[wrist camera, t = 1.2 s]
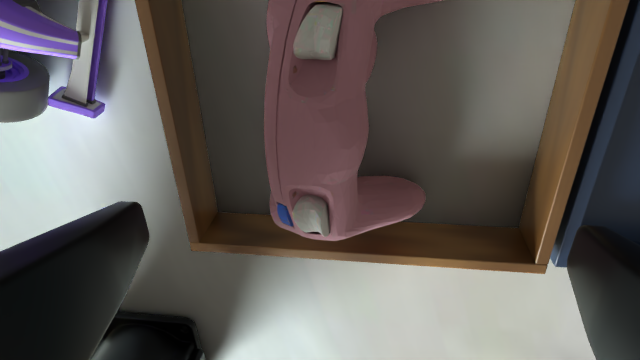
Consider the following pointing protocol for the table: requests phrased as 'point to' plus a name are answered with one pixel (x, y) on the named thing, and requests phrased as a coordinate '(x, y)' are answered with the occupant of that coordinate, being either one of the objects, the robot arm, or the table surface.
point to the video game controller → (326, 120)
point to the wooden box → (401, 237)
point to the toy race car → (50, 39)
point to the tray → (610, 151)
